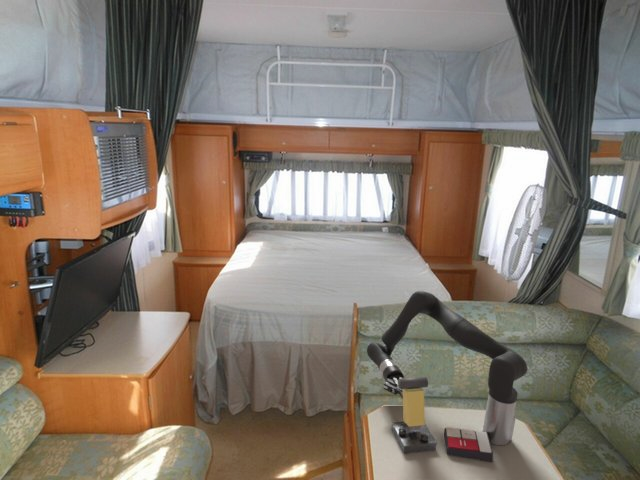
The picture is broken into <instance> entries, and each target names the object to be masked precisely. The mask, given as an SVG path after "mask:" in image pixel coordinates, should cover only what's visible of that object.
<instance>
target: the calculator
mask: <svg viewBox="0 0 640 480" xmlns="http://www.w3.org/2000/svg"><path fill="white" fill-rule="evenodd" d="M443 429H444V435H443V436H444V445H445V452H446V455H447V456H452V457H458V458H464V459H469V460H470V459H472V460H477V461H481V462H486V463H487V462H488V463H493V457H494V452H493V449H492V443H490V440H489V437H488V433H487V432H482V431H479V430H474V429H464V428H456V427H447V426H446V427H444V428H443Z"/></svg>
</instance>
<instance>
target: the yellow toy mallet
mask: <svg viewBox="0 0 640 480" xmlns="http://www.w3.org/2000/svg"><path fill="white" fill-rule="evenodd" d="M398 386H399V389H403V399H402V412H403V422H405V423H406V424H407V425H408V426H409V428H410V429H411V430H412V431H416V430H420V425H425V424H426V419H425V417H426V416H425V413H426V412H425V411H426V410H425V391H424V389H422V388H428V386H429V380H428V378H427V376H418V377H417V376H416V377H405V378H402V379H398Z"/></svg>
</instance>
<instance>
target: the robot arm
mask: <svg viewBox="0 0 640 480" xmlns="http://www.w3.org/2000/svg"><path fill="white" fill-rule="evenodd" d="M419 314H423V315H426V316H428V317H430V318H432V319H434V320H435V321H436V322H438V323H439V324H440V325H441V327H442V328H443V329H444V331H445V333H446V334H447V335H448V337H450V338H452V339H453V340H454V341H455V342H456V343H457V344H459V345H461V347H464V348H466V349H468V350H470V351H473V352H477V353H479V354H482V355H485V356H487V357H488V358H490V359H491V361H490V365H489V370H488V377H487V378H488V381H487V387H488V389H489V390H488V395H487V402H486V407H485V408H486V409H485V414H484V419H483V425H482V431H481V432H487V433H488V437H489V440H490V444H493V445H495V446H506V445H508V444H509V442H512V441H513V434H514V429H515V425H516V417H515V411H516V406H517V400H518V391H517V390H516V388H514V382H515V381H517V380H518V379H521V378H523V377H524V376H525V375H526V374H527V372H528V365H527V363H526V360H525V359H524V358H523V356H521V355H520V354H519V353H517V352H515V351H514V350H512V349H511V348H509V347H507V346H506V345H504V344H502V343H500V341H497V340H496V339H494V338H493V337H491V336H490V335H489V334H487V333H485V332H484V331H483V330H481V329H480V328H478V327H477V326H476V325H474V324H473V323H472V322H470V321H469V320H467V319H466V318H465V317H463V316H462V315H460V314H458V313H457V312H455V311H454V310H453V309H451V308H449V307H448V306H446V305H445V304H444V303H443V302H442V301H441V300H440V299H439V298H438V296H437V297H436V296H435V295H434V294H433V293H430V292H427V291H423V290H417V291H415V292H413V293H412V294H411V296H410V297H409V299H408V301H407V302H406V303H405V305H404V306H403V308H402V310H401V311H400V313H399V314H398V316H397V318H395V320H394V321H393V323H392V324H391V326H390V327H389V328H388V329H387V330H386V331H385V332H384V334H382V336H381V342H383V344H384V345H383V344H380V343H379V342H377V341H376V342H375V341H372V342H371V343H369V344H368V345H367V347H366V353H367V357H368V358H369V359H370V360H371V361H372V362H373V363H374V364H376V366H377V368H378V369H379V371H380V374H381V376H382V378H383V379H384V381H383V388H382V389H383V390H385V391H387V392H389V393H391V394H393V395H395V396H396V395H399V396H400V398H401V399H402V400H403V389H399V386H398V379H402V378H406V377H405V376H404V373H403V372H402V370H401V369H400V367H399V366H398V364H397V363H396V362H395V361H394V360H393V358H392V357H391V356H392V354H393V352H394V350H395V348H396V346H397V345H398V344H399V342H401V341H402V339H403V338H404V336H405V335H406V333H407V331H408V327H409V326H410V323H411V321H412V320H413V319H414V318H415V317H416V316H418V315H419Z"/></svg>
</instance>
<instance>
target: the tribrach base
mask: <svg viewBox="0 0 640 480" xmlns="http://www.w3.org/2000/svg"><path fill="white" fill-rule="evenodd" d="M391 431H392V433H393V436H394V437H395V439H396V441H397V443H398V446H399V447H400V449H401V451H402V453H403V454H410V453H419V452H420V453H421V452H428V451H435V450H437V445H438V444H437V443H438V442H437V441H436V439H435V438H434V435H433V434H432V432H431V431H430V429H429V428H428V426H427V425H426V423H425V425H420V430H416V431H412V430H411V429H410V428H409V426H408V425H407V424H406V423H405V422H404V421H397V422H396V421H395V422H392V424H391Z"/></svg>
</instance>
